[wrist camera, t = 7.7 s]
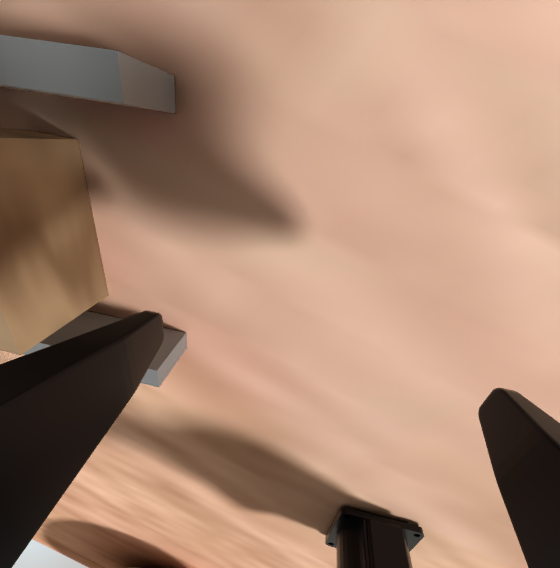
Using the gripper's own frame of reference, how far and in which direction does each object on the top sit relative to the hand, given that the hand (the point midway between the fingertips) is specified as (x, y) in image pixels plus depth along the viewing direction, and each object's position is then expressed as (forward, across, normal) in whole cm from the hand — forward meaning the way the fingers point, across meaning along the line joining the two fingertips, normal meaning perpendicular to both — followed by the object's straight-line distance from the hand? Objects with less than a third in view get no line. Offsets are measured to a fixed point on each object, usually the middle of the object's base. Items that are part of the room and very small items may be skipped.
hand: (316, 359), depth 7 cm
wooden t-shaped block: (+6, +16, 0) cm, 17 cm away
